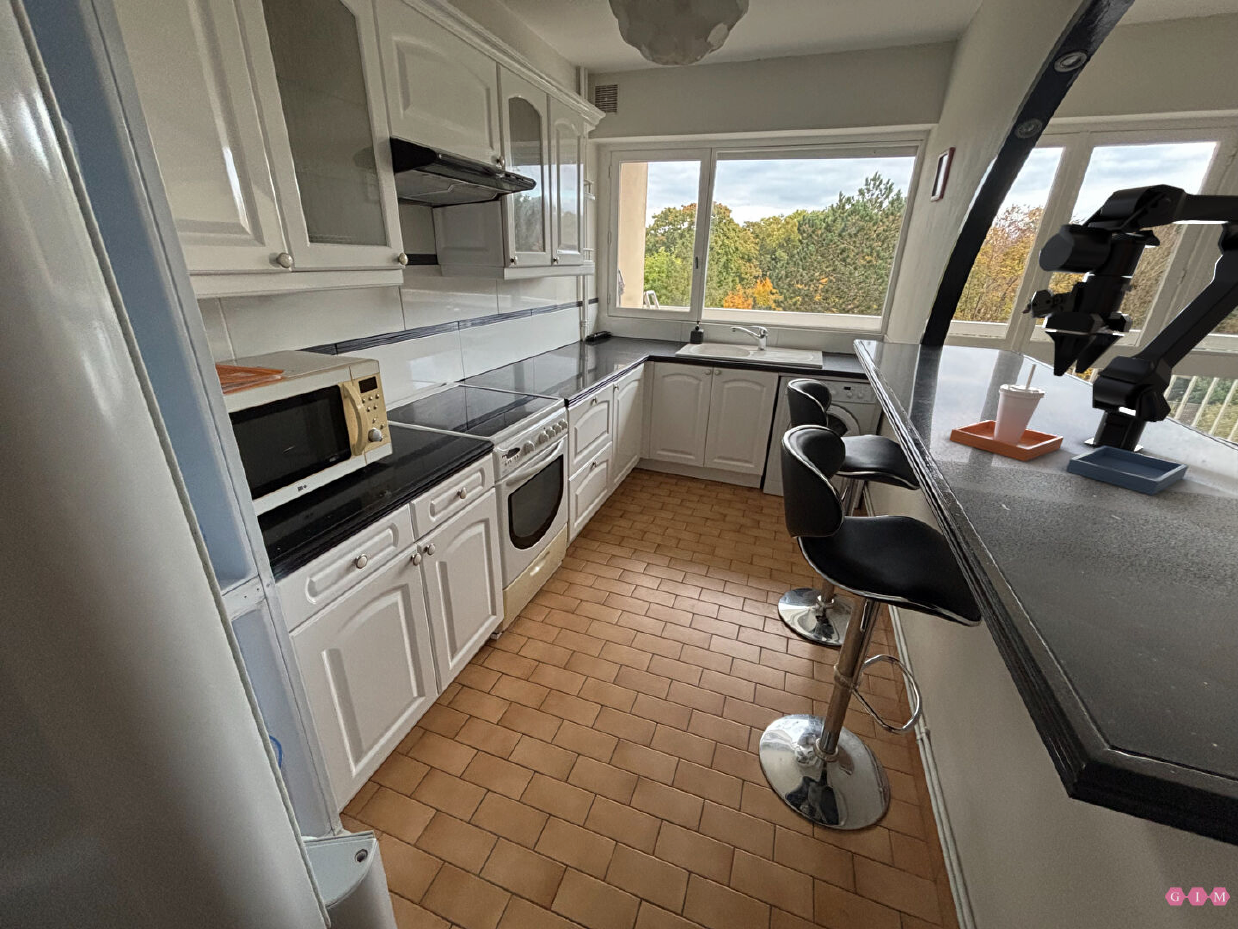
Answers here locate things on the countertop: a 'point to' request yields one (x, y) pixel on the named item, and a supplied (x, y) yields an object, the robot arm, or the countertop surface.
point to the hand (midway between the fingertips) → (1068, 374)
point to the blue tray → (1127, 469)
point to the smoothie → (1016, 410)
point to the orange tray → (1024, 450)
